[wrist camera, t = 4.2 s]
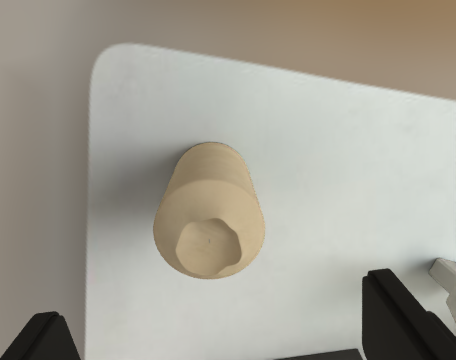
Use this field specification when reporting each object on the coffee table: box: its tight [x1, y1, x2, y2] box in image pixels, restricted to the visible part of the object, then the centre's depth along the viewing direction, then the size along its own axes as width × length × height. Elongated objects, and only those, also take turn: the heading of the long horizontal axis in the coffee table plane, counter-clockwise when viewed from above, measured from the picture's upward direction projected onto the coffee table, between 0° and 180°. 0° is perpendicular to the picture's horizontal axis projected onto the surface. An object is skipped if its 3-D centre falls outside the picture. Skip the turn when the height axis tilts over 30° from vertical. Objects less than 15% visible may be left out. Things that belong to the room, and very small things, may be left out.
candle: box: [153, 142, 265, 279], centre depth 19 cm, size 6×6×10 cm
